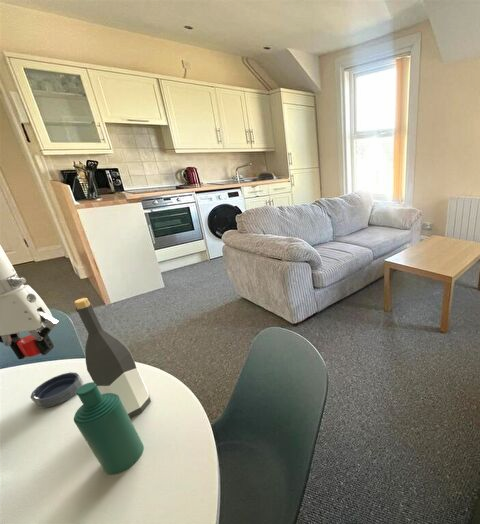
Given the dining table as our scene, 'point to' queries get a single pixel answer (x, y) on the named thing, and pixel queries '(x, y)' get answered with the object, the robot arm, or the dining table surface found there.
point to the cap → (28, 346)
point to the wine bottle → (112, 363)
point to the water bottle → (107, 429)
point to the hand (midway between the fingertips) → (36, 352)
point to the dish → (56, 390)
